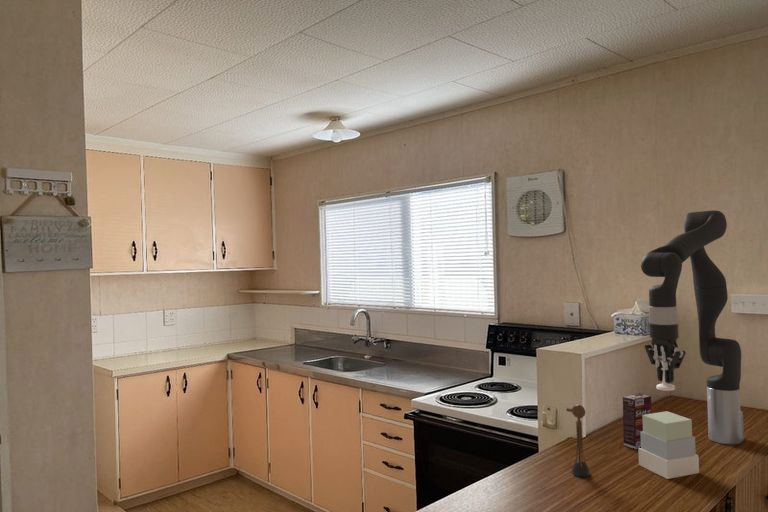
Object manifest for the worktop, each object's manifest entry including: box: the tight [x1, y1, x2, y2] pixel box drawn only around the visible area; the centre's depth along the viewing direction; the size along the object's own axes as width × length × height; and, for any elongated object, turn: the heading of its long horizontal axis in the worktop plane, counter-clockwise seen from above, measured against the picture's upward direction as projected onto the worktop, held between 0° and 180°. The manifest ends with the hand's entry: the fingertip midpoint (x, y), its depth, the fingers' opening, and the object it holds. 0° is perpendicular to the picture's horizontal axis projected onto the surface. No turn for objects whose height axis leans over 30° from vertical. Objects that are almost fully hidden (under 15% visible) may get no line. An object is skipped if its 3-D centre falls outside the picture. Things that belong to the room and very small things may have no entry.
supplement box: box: [622, 393, 653, 450], centre depth 184 cm, size 9×5×16 cm, turn 119°
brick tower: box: [637, 410, 700, 480], centre depth 164 cm, size 11×11×15 cm
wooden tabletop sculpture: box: [565, 404, 591, 478], centre depth 163 cm, size 6×5×20 cm
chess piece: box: [656, 356, 676, 392], centre depth 164 cm, size 5×5×10 cm
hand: (665, 381), depth 164 cm, fingers closed on chess piece
